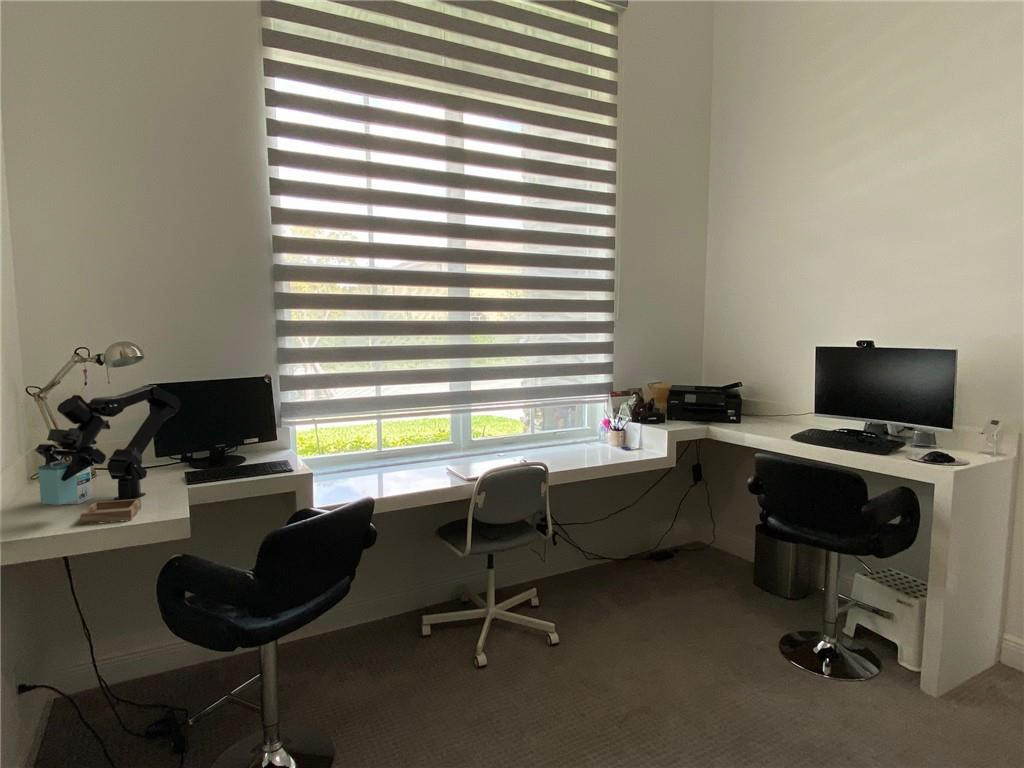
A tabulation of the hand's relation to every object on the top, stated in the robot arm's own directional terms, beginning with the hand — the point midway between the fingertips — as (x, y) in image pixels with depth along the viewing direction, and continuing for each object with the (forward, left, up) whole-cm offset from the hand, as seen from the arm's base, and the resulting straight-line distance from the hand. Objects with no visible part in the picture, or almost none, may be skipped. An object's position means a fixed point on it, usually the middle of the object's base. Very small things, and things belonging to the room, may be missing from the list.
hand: (53, 479), depth 164 cm
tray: (-6, +12, -12) cm, 18 cm away
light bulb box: (-20, -11, -13) cm, 26 cm away
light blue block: (-1, 0, -7) cm, 7 cm away
